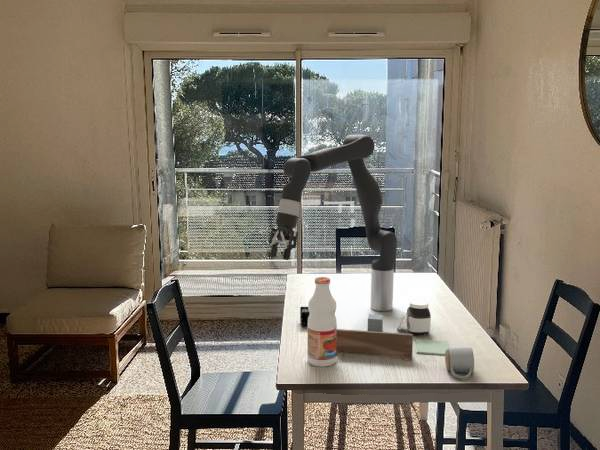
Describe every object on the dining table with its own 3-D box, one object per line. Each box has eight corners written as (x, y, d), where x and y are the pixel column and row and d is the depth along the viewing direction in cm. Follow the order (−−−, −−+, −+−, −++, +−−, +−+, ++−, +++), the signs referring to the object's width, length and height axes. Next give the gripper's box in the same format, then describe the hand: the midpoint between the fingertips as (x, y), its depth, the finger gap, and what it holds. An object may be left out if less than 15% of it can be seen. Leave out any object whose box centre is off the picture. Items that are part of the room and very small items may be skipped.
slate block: (368, 340, 208) (368, 314, 207) (382, 341, 207) (383, 315, 206) (367, 346, 203) (367, 318, 202) (381, 347, 202) (382, 319, 201)
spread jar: (432, 336, 213) (434, 306, 211) (403, 338, 211) (404, 307, 209) (420, 325, 224) (422, 296, 222) (392, 327, 222) (393, 297, 220)
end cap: (325, 321, 229) (326, 304, 228) (325, 327, 222) (326, 310, 221) (300, 321, 229) (300, 304, 228) (299, 327, 222) (299, 310, 221)
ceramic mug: (443, 365, 187) (444, 343, 186) (469, 366, 186) (471, 344, 185) (448, 380, 177) (450, 356, 175) (476, 381, 176) (477, 357, 174)
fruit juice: (313, 354, 196) (313, 273, 191) (339, 358, 193) (340, 276, 188) (303, 364, 188) (303, 280, 183) (330, 369, 184) (331, 283, 179)
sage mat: (416, 340, 208) (416, 338, 208) (448, 342, 206) (448, 341, 206) (416, 353, 197) (416, 351, 197) (449, 355, 195) (450, 354, 195)
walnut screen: (335, 348, 201) (335, 326, 199) (412, 354, 196) (412, 332, 194) (333, 354, 196) (333, 331, 194) (411, 360, 191) (412, 337, 190)
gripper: (307, 216, 202) (298, 262, 201) (285, 214, 214) (277, 257, 213) (290, 212, 198) (281, 259, 197) (268, 210, 209) (259, 254, 209)
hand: (279, 258), depth 205 cm, fingers open, 8 cm apart
